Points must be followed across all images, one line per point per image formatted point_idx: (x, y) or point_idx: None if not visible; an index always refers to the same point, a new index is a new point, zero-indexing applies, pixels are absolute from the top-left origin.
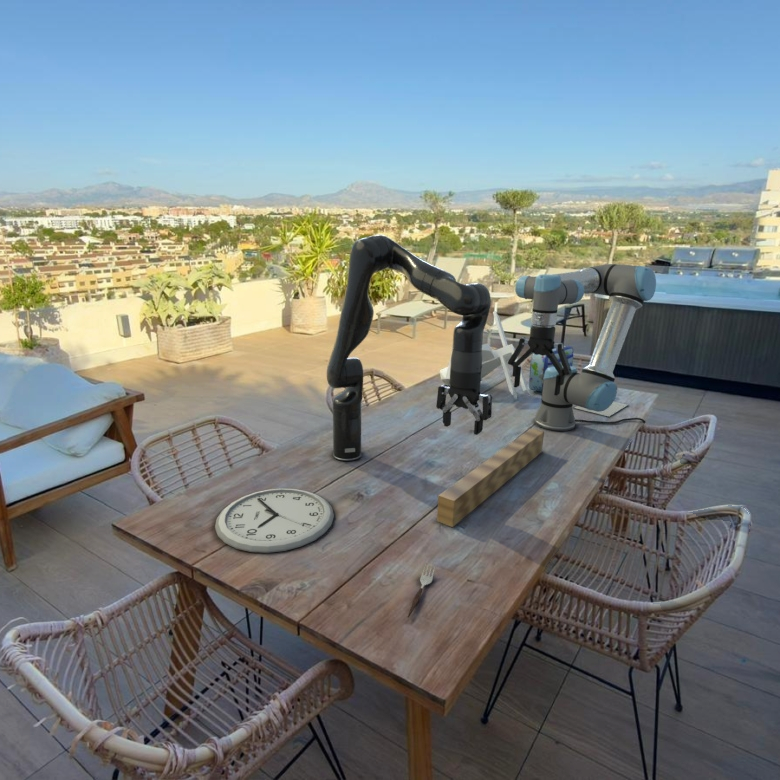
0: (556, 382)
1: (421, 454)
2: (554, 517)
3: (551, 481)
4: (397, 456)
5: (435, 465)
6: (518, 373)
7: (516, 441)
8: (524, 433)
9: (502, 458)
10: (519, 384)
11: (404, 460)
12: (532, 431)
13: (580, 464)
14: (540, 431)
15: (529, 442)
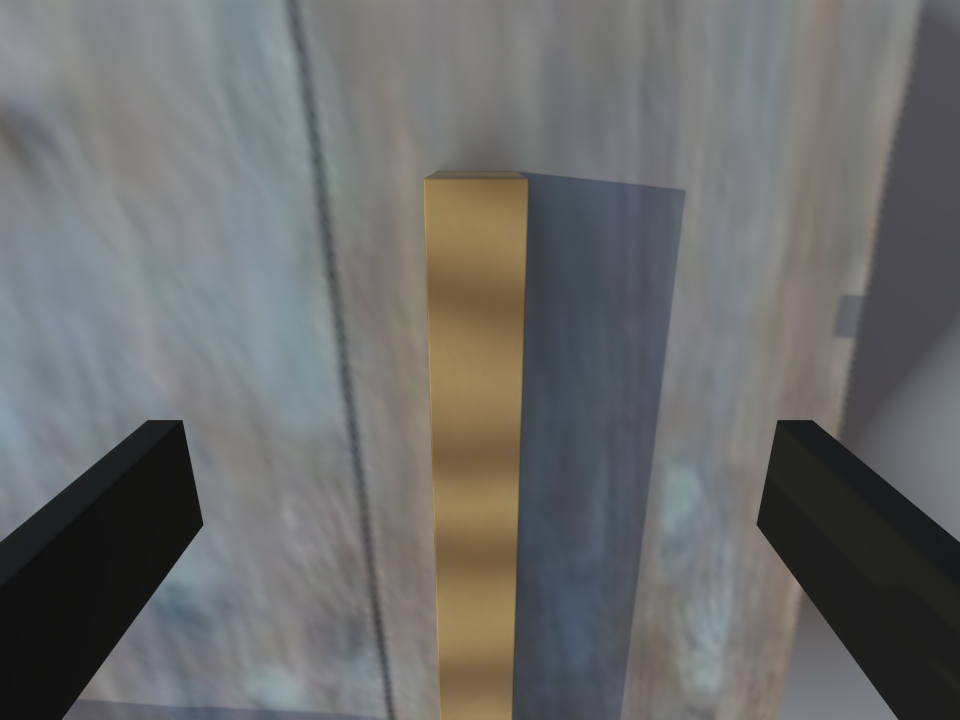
0: (887, 686)
1: None
2: (739, 680)
3: (665, 465)
4: None
5: (206, 611)
6: (57, 658)
7: (450, 459)
8: (431, 309)
9: (488, 669)
10: (172, 428)
11: None
12: (460, 238)
13: (754, 197)
14: (507, 199)
15: (519, 427)
